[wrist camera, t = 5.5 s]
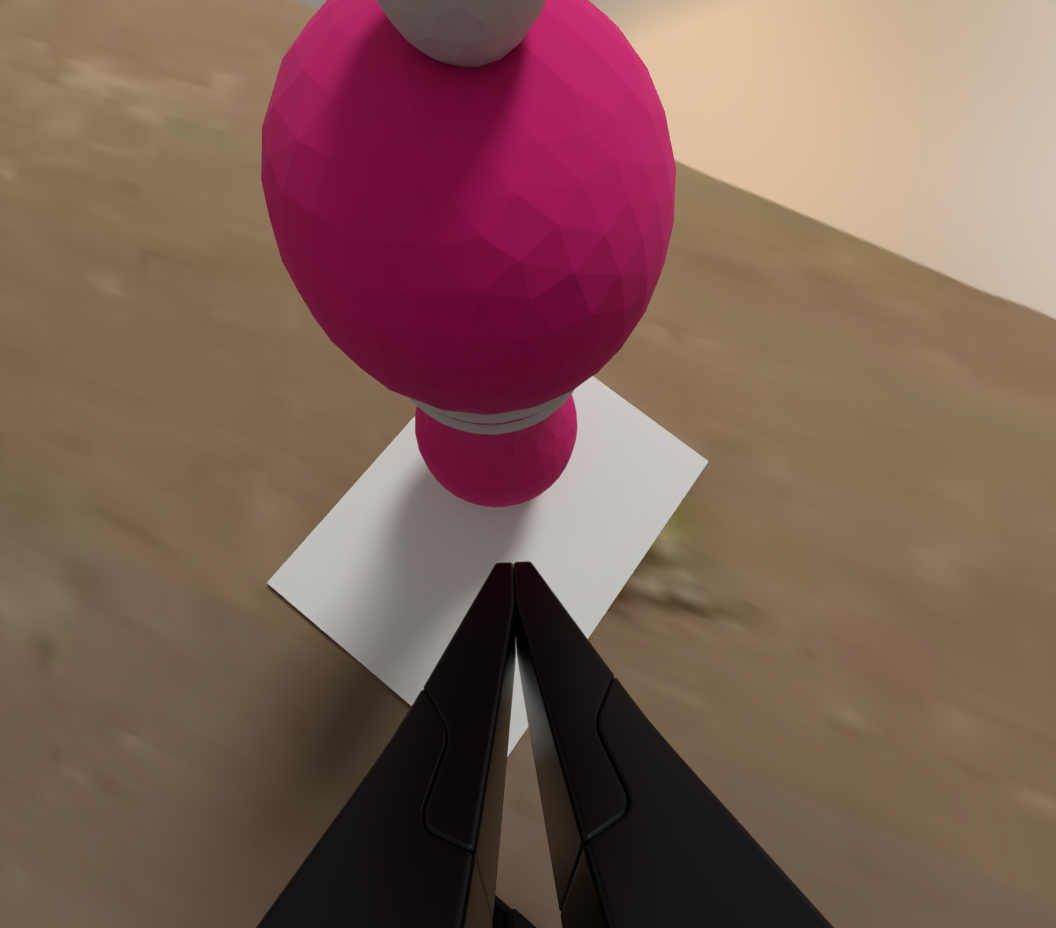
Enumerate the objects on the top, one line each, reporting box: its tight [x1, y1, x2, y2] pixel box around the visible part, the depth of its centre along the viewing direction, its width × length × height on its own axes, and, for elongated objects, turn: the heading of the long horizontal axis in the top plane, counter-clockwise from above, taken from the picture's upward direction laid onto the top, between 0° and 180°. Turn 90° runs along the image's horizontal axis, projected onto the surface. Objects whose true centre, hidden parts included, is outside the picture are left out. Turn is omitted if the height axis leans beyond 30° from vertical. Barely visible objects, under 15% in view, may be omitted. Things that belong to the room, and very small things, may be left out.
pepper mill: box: [261, 0, 676, 507], centre depth 12 cm, size 7×7×20 cm
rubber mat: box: [267, 376, 708, 757], centre depth 21 cm, size 20×15×1 cm
